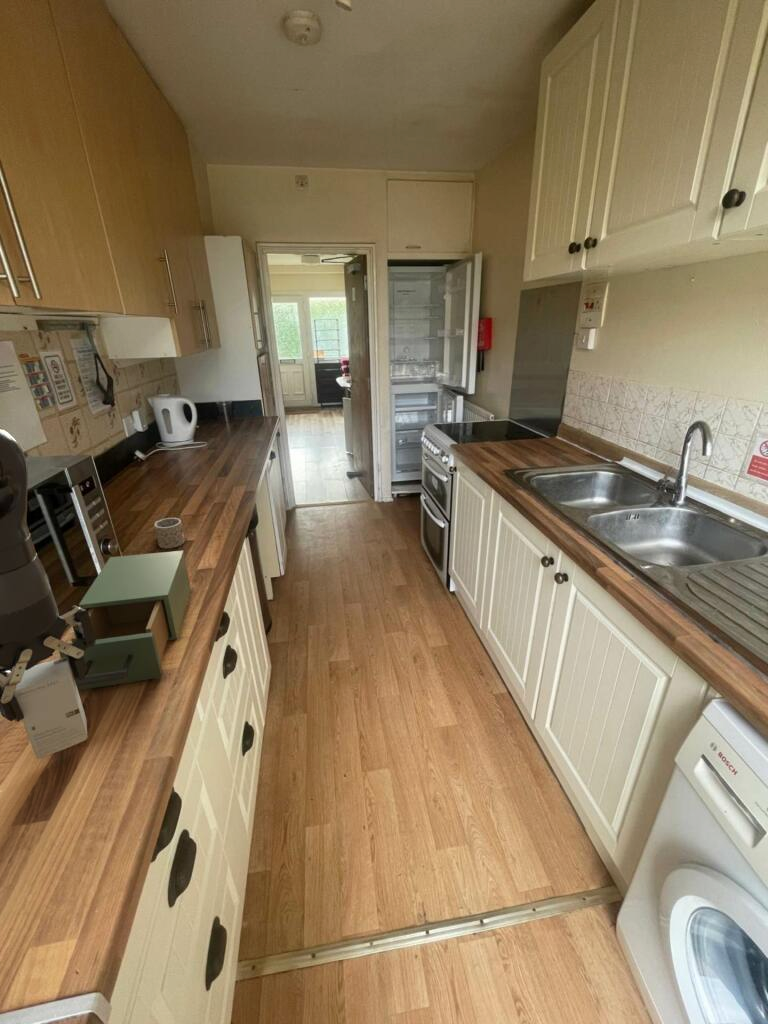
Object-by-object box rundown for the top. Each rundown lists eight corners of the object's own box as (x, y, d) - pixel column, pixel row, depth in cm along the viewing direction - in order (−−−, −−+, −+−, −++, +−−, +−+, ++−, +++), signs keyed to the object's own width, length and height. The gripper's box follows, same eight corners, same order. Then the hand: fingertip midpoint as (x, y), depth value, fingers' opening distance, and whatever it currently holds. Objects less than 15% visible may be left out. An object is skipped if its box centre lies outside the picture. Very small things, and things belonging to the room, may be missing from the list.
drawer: (155, 699, 70) (144, 656, 67) (60, 714, 67) (43, 671, 63) (178, 619, 89) (171, 582, 86) (105, 628, 86) (94, 591, 82)
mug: (189, 542, 122) (185, 521, 119) (167, 551, 117) (163, 530, 114) (169, 533, 127) (165, 513, 124) (147, 542, 122) (142, 520, 119)
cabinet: (177, 640, 85) (167, 594, 80) (93, 652, 81) (78, 605, 77) (191, 590, 100) (183, 550, 96) (121, 598, 97) (110, 557, 93)
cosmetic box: (37, 761, 58) (8, 695, 53) (37, 737, 61) (10, 672, 56) (91, 738, 61) (68, 674, 56) (88, 716, 64) (67, 654, 59)
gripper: (56, 560, 59) (85, 654, 65) (-85, 618, 47) (-31, 726, 53) (90, 574, 56) (118, 671, 62) (-50, 640, 44) (2, 751, 50)
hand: (49, 696), depth 58 cm, fingers closed on cosmetic box, 7 cm apart
